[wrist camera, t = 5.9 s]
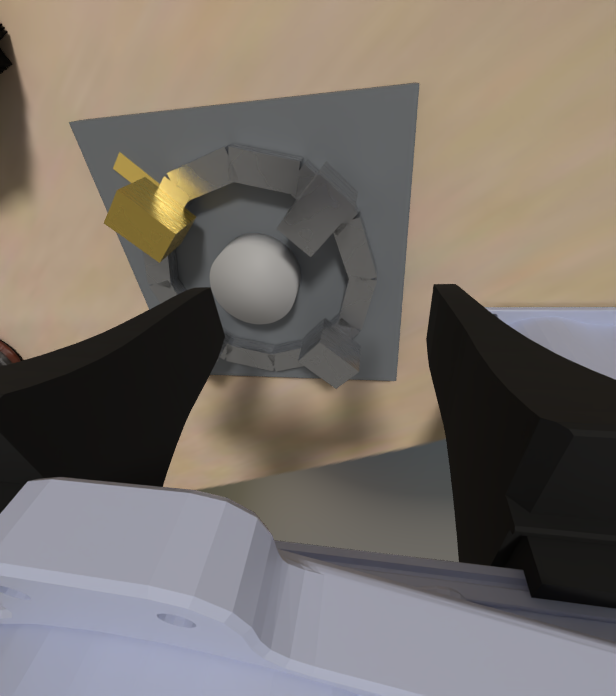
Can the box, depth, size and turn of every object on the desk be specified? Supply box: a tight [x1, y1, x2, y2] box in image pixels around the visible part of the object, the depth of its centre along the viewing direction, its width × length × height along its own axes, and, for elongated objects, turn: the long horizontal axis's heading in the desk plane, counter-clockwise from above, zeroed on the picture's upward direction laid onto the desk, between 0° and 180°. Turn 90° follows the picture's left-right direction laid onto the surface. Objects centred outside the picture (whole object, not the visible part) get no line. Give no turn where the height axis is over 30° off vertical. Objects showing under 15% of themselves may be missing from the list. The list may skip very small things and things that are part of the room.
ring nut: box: [104, 143, 377, 388], centre depth 20 cm, size 15×15×4 cm
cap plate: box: [69, 83, 419, 381], centre depth 21 cm, size 17×17×3 cm
